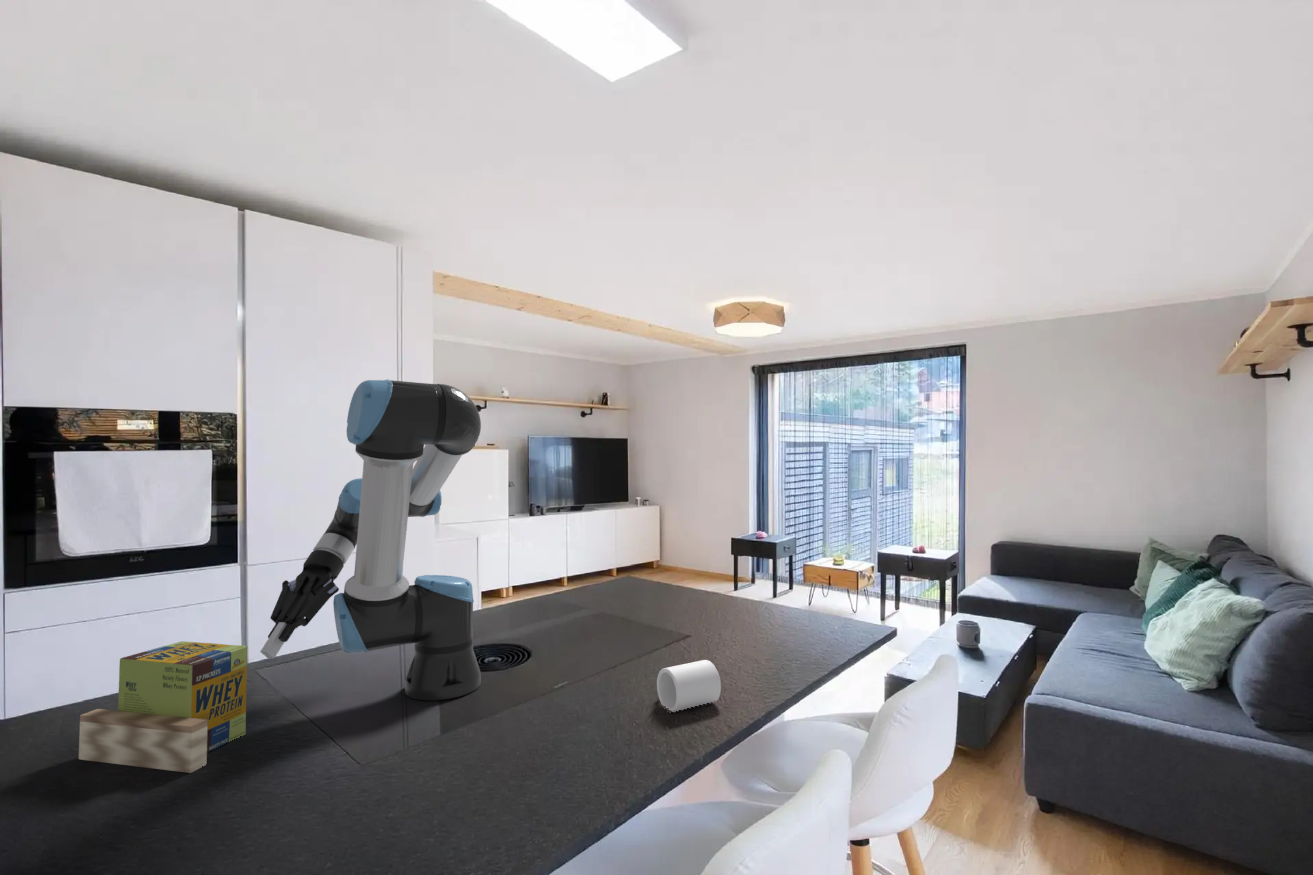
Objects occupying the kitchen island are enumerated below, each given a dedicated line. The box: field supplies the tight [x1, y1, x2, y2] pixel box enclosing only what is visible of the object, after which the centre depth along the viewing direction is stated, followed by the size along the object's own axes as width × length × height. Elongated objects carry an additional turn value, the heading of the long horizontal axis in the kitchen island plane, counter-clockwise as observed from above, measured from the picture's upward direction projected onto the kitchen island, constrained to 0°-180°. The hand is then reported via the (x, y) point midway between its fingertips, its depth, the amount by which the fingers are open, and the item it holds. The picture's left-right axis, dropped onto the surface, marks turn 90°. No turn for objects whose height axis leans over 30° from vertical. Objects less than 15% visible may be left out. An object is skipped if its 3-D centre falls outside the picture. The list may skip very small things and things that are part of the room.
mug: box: [656, 659, 722, 713], centre depth 120 cm, size 12×10×8 cm
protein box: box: [117, 641, 248, 754], centre depth 103 cm, size 10×15×16 cm
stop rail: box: [78, 708, 208, 774], centre depth 97 cm, size 22×3×7 cm, turn 78°
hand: (267, 655), depth 121 cm, fingers closed
